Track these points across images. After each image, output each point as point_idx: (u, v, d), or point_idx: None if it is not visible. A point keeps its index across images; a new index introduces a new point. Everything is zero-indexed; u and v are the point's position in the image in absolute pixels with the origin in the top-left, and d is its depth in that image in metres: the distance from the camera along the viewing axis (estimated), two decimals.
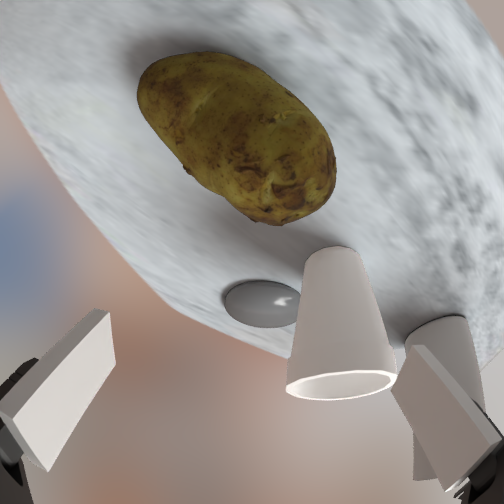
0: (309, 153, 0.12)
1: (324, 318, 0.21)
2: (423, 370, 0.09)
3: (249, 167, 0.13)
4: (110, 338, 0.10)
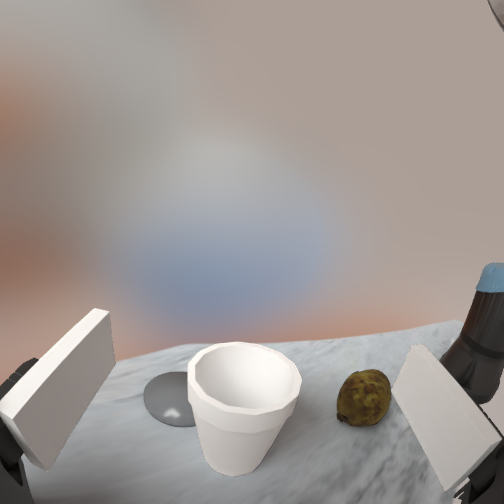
0: (384, 397, 0.26)
1: None
2: (423, 370, 0.09)
3: (376, 379, 0.29)
4: (110, 338, 0.10)
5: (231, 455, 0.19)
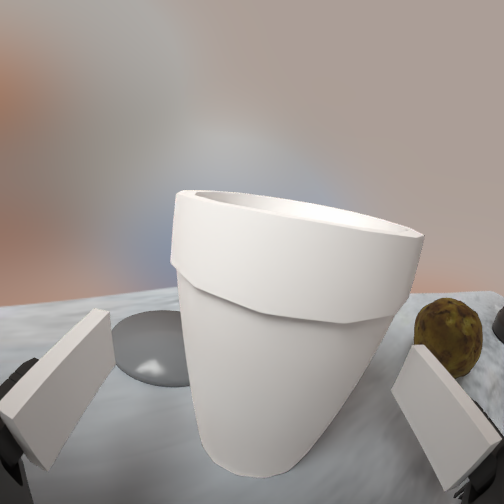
0: (481, 325, 0.15)
1: None
2: (423, 370, 0.09)
3: (463, 304, 0.18)
4: (110, 338, 0.10)
5: (266, 424, 0.09)
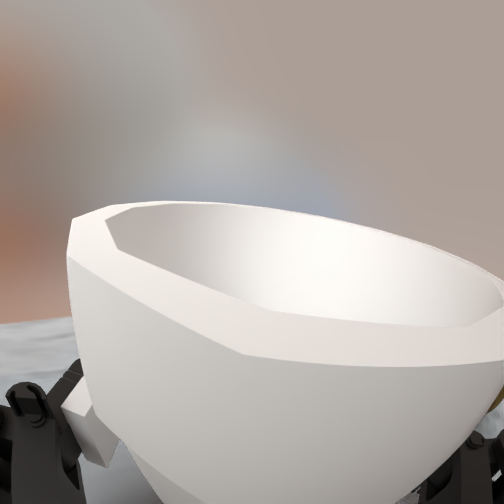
0: None
1: None
2: None
3: None
4: None
5: None
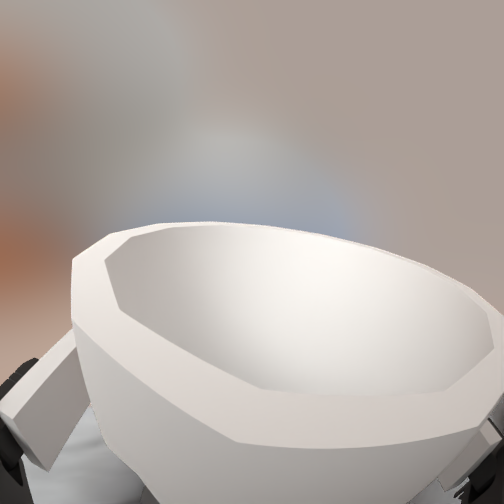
0: None
1: None
2: None
3: None
4: None
5: None
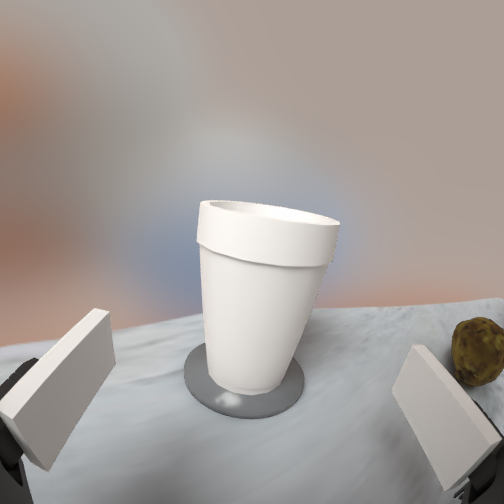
0: None
1: None
2: (423, 370, 0.09)
3: (493, 322, 0.19)
4: (110, 338, 0.10)
5: (249, 336, 0.17)
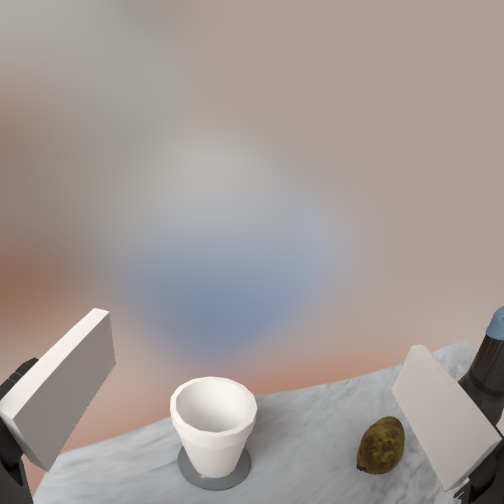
0: (399, 451, 0.25)
1: None
2: (423, 370, 0.09)
3: (393, 434, 0.27)
4: (110, 338, 0.10)
5: (208, 462, 0.25)
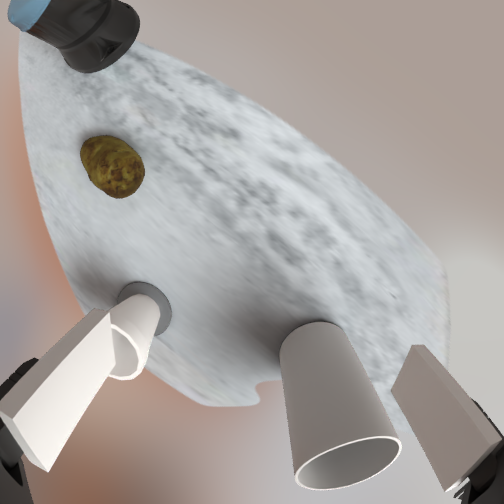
0: (124, 159, 0.32)
1: None
2: (423, 370, 0.09)
3: (104, 165, 0.31)
4: (110, 338, 0.10)
5: (153, 328, 0.38)
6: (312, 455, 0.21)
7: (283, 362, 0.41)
